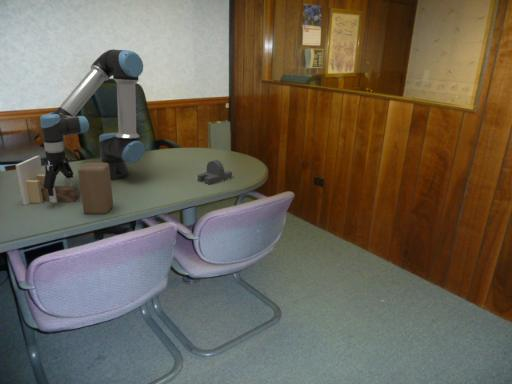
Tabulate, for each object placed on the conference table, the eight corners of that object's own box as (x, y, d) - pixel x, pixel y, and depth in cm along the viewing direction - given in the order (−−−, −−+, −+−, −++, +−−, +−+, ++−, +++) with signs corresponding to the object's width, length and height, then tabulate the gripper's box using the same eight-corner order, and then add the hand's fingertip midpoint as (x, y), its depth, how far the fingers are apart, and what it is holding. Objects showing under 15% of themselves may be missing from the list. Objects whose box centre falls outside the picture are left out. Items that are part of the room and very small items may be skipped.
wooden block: (90, 205, 168) (85, 161, 161) (113, 205, 169) (109, 162, 162) (83, 214, 159) (76, 168, 152) (107, 214, 160) (102, 169, 153)
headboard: (56, 193, 180) (50, 156, 173) (37, 205, 166) (30, 165, 159) (42, 192, 180) (36, 155, 174) (23, 204, 166) (15, 165, 159)
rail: (78, 199, 174) (77, 186, 172) (74, 202, 170) (72, 189, 168) (40, 197, 175) (38, 183, 172) (34, 200, 171) (32, 187, 168)
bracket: (232, 178, 212) (233, 159, 208) (209, 185, 199) (209, 165, 195) (220, 174, 218) (220, 155, 214) (196, 181, 205) (196, 161, 201)
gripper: (61, 143, 176) (67, 186, 184) (28, 158, 153) (37, 206, 160) (77, 144, 176) (83, 187, 183) (47, 159, 152) (54, 207, 160)
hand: (61, 196), depth 172 cm, fingers open, 13 cm apart
